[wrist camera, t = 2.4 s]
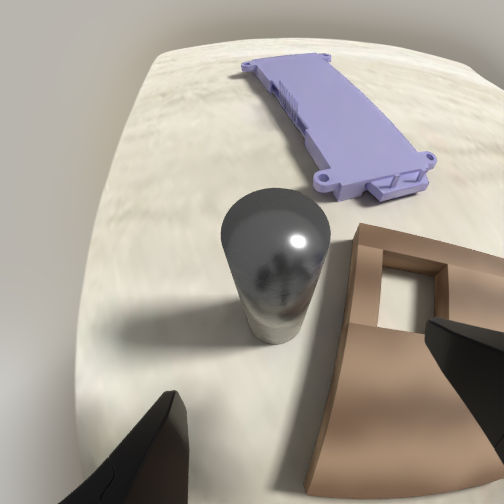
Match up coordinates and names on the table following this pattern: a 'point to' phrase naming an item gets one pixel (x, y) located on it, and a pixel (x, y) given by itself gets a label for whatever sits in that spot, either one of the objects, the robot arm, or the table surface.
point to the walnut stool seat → (404, 379)
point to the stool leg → (275, 258)
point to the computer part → (343, 129)
